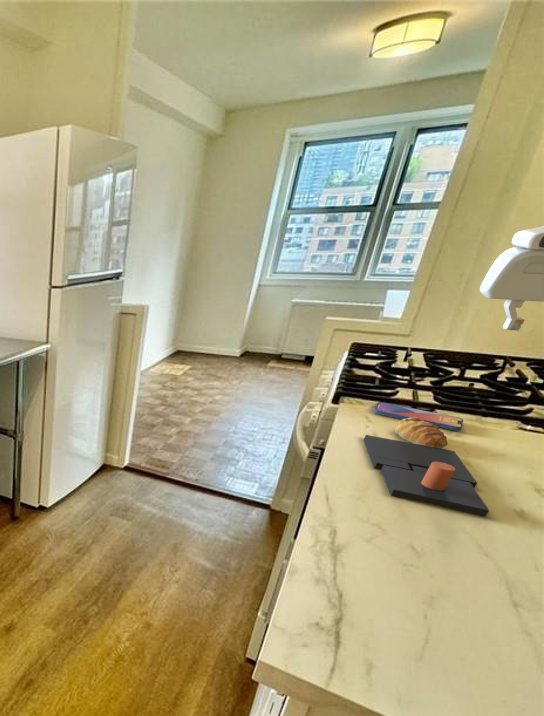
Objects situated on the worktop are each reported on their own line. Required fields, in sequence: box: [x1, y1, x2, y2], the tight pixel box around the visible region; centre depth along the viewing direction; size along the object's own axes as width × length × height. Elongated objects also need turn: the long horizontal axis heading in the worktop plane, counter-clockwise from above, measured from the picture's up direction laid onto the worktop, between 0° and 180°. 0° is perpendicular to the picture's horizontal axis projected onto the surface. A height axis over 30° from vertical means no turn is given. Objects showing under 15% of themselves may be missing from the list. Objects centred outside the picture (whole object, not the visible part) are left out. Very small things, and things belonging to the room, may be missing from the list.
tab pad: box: [380, 462, 490, 517], centre depth 84 cm, size 12×12×5 cm
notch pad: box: [363, 434, 478, 489], centre depth 93 cm, size 14×14×1 cm
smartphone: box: [373, 401, 464, 432], centre depth 111 cm, size 7×15×1 cm, turn 45°
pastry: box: [393, 417, 449, 449], centre depth 100 cm, size 9×7×4 cm
